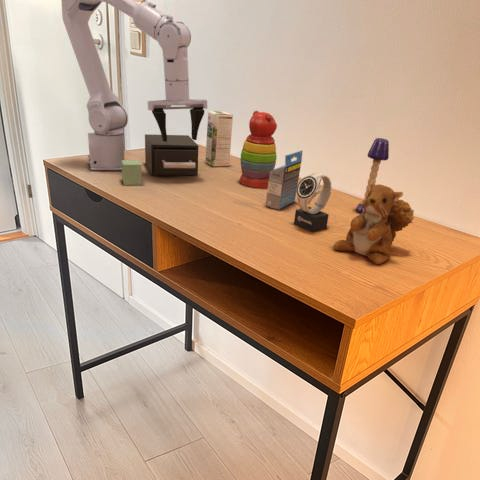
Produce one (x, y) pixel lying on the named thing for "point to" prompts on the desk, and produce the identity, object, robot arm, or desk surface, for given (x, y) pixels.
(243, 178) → the stacking bear
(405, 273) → the desk surface
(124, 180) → the block
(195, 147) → the small drawer cabinet
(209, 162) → the syrup box
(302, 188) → the watch
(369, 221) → the stuffed squirrel
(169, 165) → the black drawer
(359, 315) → the desk surface
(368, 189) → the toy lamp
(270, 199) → the label tape box
